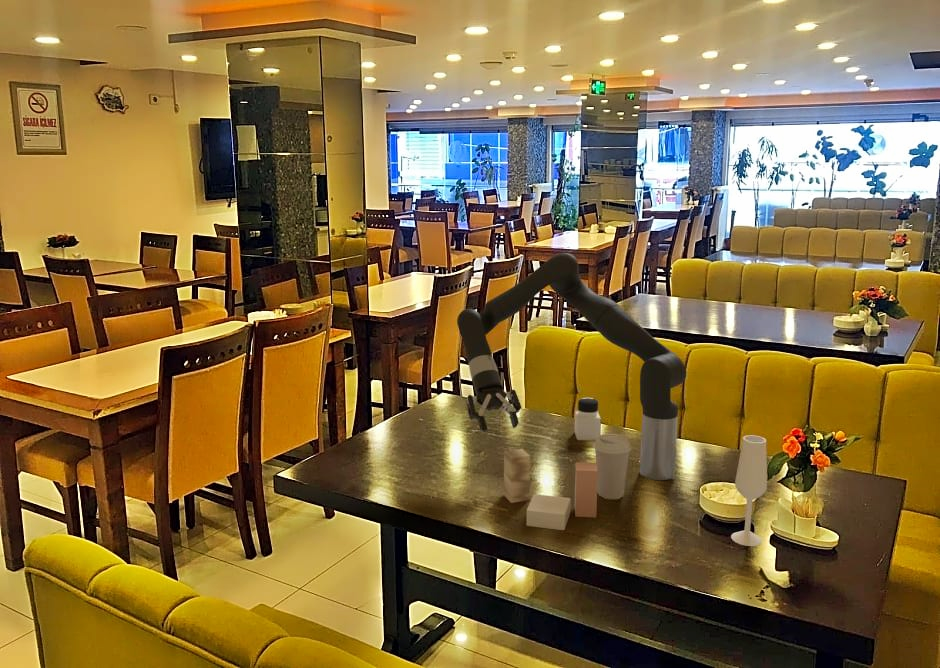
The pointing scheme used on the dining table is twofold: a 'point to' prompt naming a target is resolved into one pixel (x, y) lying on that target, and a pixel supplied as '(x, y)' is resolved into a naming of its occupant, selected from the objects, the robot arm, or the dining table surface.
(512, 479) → the maple pillar
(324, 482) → the dining table surface
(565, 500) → the plinth
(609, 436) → the coffee cup
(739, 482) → the champagne flute
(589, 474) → the terracotta pillar
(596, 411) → the medicine bottle
